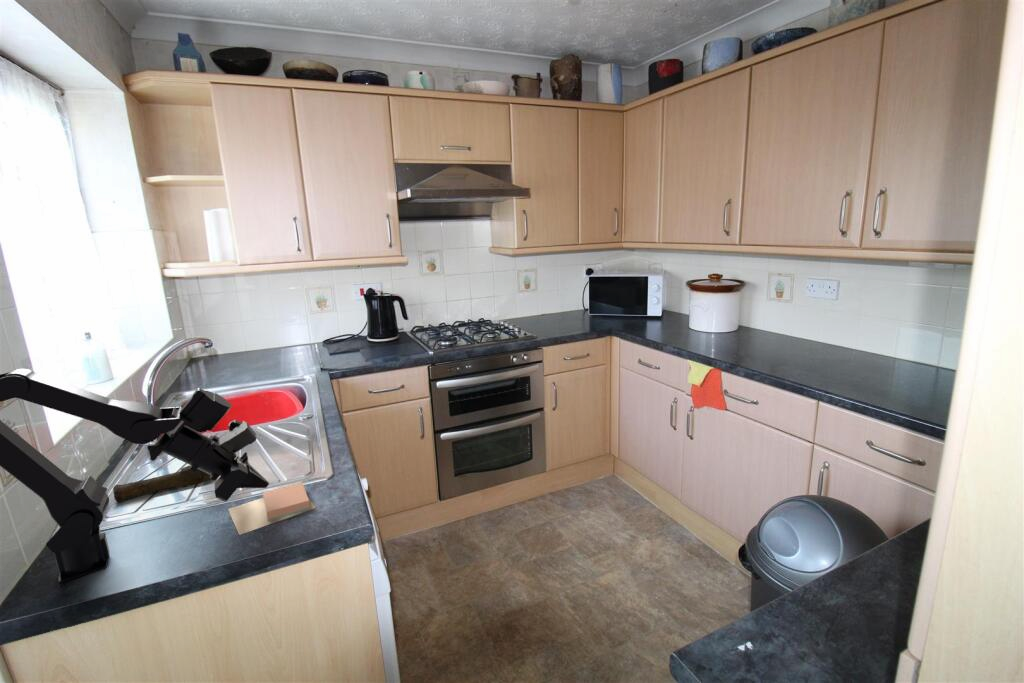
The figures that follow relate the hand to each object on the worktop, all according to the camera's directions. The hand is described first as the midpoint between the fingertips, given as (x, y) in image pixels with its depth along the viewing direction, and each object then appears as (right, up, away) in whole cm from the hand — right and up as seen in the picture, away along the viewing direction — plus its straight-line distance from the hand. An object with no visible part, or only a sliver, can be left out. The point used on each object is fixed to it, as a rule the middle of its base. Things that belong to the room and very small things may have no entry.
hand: (267, 485), depth 103 cm
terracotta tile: (-1, -5, +1) cm, 5 cm away
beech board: (0, -7, +2) cm, 7 cm away
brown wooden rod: (-31, -5, +14) cm, 34 cm away
